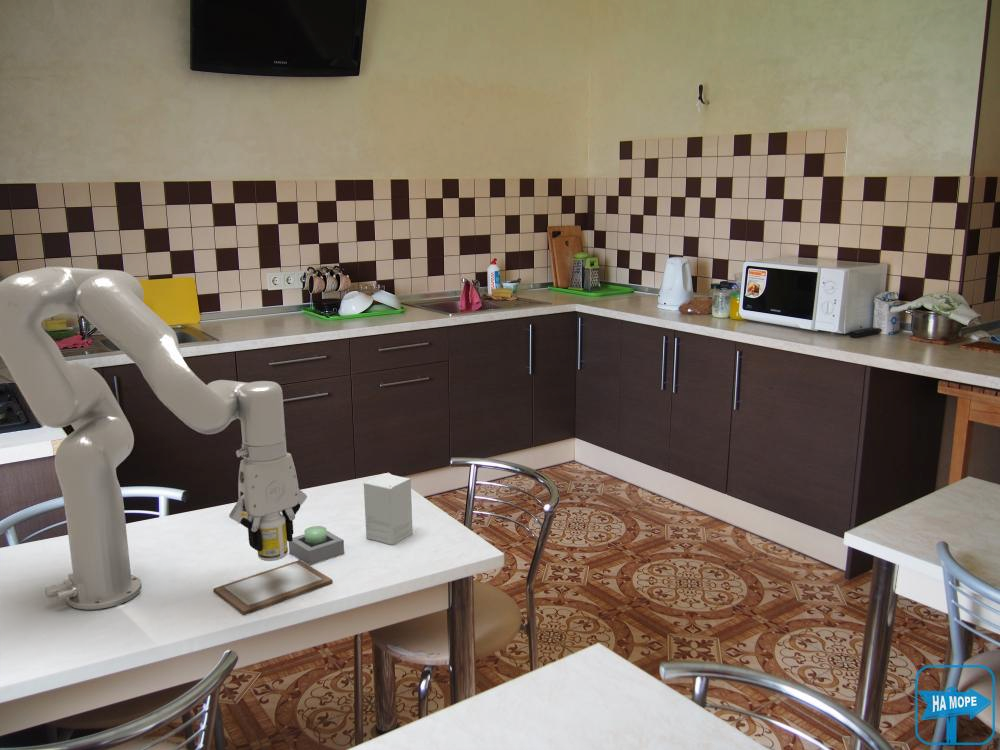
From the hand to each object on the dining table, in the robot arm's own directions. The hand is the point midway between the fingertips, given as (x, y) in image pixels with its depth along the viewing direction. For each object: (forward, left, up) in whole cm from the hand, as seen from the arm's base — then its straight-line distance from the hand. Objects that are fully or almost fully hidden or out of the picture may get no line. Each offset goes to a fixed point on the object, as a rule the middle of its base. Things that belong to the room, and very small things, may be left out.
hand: (272, 543), depth 158 cm
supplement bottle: (0, 0, -3) cm, 3 cm away
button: (+14, +8, -6) cm, 17 cm away
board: (0, 0, -9) cm, 9 cm away
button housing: (+14, +8, -9) cm, 18 cm away
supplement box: (+30, +5, -9) cm, 32 cm away
